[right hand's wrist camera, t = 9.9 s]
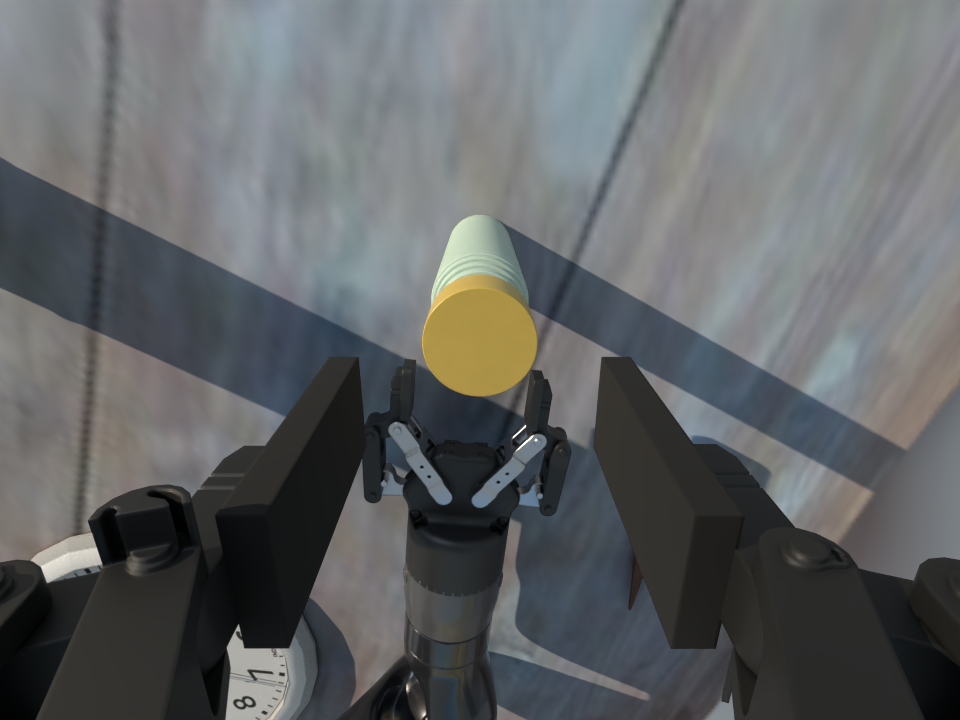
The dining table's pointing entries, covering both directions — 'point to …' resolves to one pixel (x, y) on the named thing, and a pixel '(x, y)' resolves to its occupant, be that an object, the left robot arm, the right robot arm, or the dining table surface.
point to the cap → (480, 336)
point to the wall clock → (254, 672)
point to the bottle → (480, 254)
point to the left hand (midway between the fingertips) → (474, 368)
